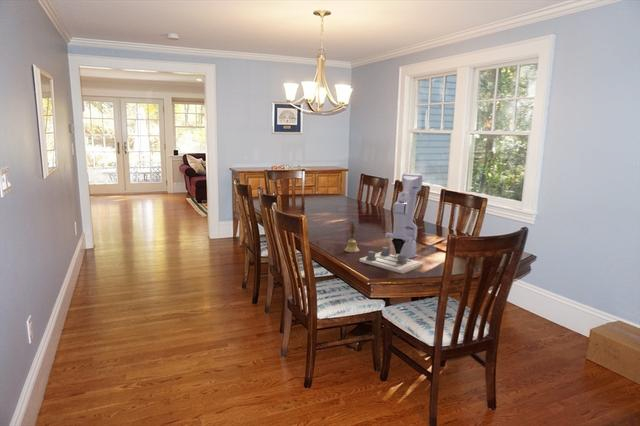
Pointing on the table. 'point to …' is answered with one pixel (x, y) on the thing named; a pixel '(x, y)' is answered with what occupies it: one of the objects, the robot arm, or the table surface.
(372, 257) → the knob
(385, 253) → the knob
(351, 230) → the hand bell
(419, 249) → the table surface
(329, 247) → the table surface
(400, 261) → the knob
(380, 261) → the switch board
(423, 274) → the table surface
